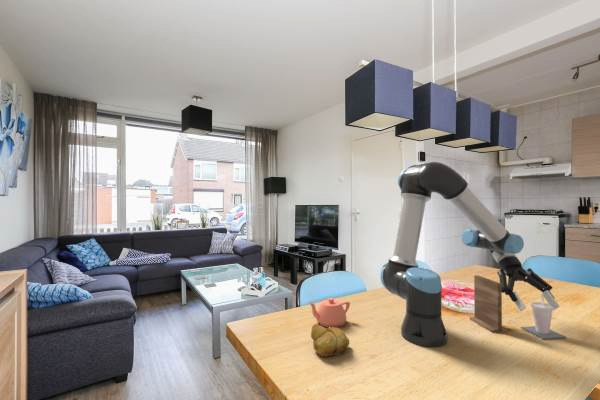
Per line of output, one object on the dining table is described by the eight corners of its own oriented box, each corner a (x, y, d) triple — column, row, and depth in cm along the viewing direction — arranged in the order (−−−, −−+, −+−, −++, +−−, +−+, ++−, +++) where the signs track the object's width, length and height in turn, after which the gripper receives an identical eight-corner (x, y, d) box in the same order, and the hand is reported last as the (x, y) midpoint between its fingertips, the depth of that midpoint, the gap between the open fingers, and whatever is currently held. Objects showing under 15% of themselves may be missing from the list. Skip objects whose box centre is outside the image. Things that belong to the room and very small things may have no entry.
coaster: (543, 339, 100) (543, 338, 100) (520, 328, 109) (520, 326, 109) (566, 338, 101) (566, 336, 101) (542, 327, 110) (542, 325, 110)
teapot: (356, 326, 111) (356, 301, 111) (312, 331, 106) (312, 306, 106) (343, 314, 123) (343, 292, 123) (303, 319, 118) (303, 296, 118)
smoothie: (533, 333, 103) (533, 294, 104) (529, 326, 109) (529, 289, 109) (556, 337, 100) (556, 297, 100) (551, 329, 106) (550, 292, 106)
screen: (492, 332, 105) (492, 283, 105) (469, 319, 117) (469, 275, 117) (507, 331, 106) (506, 283, 106) (483, 318, 118) (482, 275, 118)
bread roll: (344, 341, 99) (344, 318, 99) (356, 356, 89) (356, 330, 90) (308, 346, 95) (308, 322, 96) (318, 362, 86) (317, 335, 86)
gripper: (528, 264, 125) (563, 311, 110) (475, 265, 122) (503, 314, 108) (539, 254, 120) (577, 303, 105) (484, 255, 117) (515, 305, 102)
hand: (540, 308), depth 106 cm, fingers open, 13 cm apart
